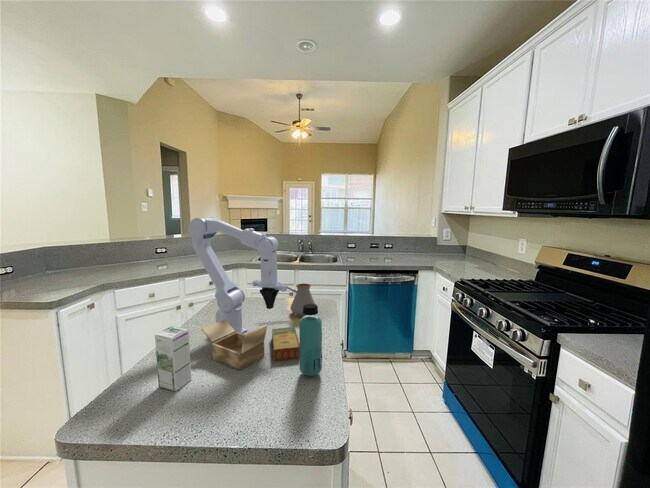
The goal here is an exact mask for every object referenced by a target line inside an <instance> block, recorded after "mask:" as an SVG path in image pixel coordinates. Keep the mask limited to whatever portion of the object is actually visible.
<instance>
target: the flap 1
mask: <svg viewBox="0 0 650 488" xmlns="http://www.w3.org/2000/svg"><path fill="white" fill-rule="evenodd" d="M201 331H202V332H203V334H204V335H205V336H206V337H207V339H208V340H209V341H210V343H214V342H216V341H219V340H221V339H223V338H225V337H227V335H229V334H231V333H233V332H235V330H234V329H233V328H232V327H231V326H230V324H229V323H228V322H227V321H226V320H225V319H224V320H222V321H220V322H217V323H216V322H214V323H212V324H210V325H208V326H205V327H202V328H201Z"/></svg>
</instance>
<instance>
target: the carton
mask: <svg viewBox="0 0 650 488" xmlns="http://www.w3.org/2000/svg"><path fill="white" fill-rule="evenodd" d="M271 332H272V334H271V335H272V336H271V339H272V340H271V341H272V350H273V351H272V354H273V362H279V361H281V362H283V361H291V360H299V344H300V340H299V337H298V334H297V330H296V327H295V326H291V327H279V328H272V331H271Z"/></svg>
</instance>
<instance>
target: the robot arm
mask: <svg viewBox="0 0 650 488" xmlns="http://www.w3.org/2000/svg"><path fill="white" fill-rule="evenodd" d="M187 231H188V233H189V234H190V237H191V242H192V243H191V244H192V248H193V250H194V251H195V253H196V254H197V257H198V258H199V260H200V262H201V264H202V265H203V267H204V269H205V271H206V273H207V274H208V277H209V278H210V280H211V281H212V283H213V285H214V286H215V288H216V290H215V294H214V297H215V298H216V303H217V307H218V309H217V310H216V312H215V323H217V322H220V321H222V320H224V319H225V320H226V321H227V322H228V323H229V324H230V326H231V327H232V328H233V329H234V330H235V332H233V333H236V332H238V333H242V334H244V333H245V332H246V331H247V332H248V329H249V328H246V327H244V326H243V302H244V301H245V298H246V294H245V293H244V291H243V290H242V289H241V288H240V287H239V286H238V284H236V283H235V282H232V280H230V277H229V276H228V274H227V272H226V271H225V269H224V267H223V266H222V264H221V261H220V260H219V257H217V254H216V252H214V250H213V248H212V246H211V242H212V240H213V238H214V237H215V236H216V235H217V234H218V233H222V234H225V235H227V236H230V237H234V238H236V239H239V242H240V243H241V244H242V245H245V246H247V247H249V248H251V249H255V250H257V251H258V253H259V255H260V256H259V257H260V259H259V260H260V280H258V279H256V280H252V287H258V288H261V289H259V294H261V297H263V300H264V304H265V308H266V309H267V310H272V309H273V308H274V306H275V303H276V302H275V301H276V299H277V298H276V297H277V296H278V294H279V292H280V291H281V292H287V291H288V289H287V287H288V285H287V284H284V283H281V282H278V254H277V250H279V246H280V244H279V240H278V239H277V238H276V237H274V236H273V235H269V236H267V233H260V232H258V231H255V228H252V227H251V228H250V227H249V228H245V229H241V228H239V227H237V226H234V225H233V224H230V223H227V222H225V221H223V220H222V219H219V218H216V217H213V216H211V217H194V218H192V219H191V221H190V222H189V226H188V227H187ZM233 333H231V334H233ZM231 334H229V335H231ZM229 335H227V336H229ZM227 336H226V337H227Z"/></svg>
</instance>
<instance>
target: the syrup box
mask: <svg viewBox="0 0 650 488" xmlns="http://www.w3.org/2000/svg"><path fill="white" fill-rule="evenodd" d="M189 331H190V330H189V329H188V328H182V327H178V326H173V325H172V326H170V327H167V328H165V329H162V330H159V332H157V333H155V334H154V343H155V358H156V368H157V381H158V382H157V383H158V388H162V389H165V390H168V391H173V392H177V391H178V390H180V389H181V388H182V387H184V386H185V385H187V384H188V383H189V382H191V381H192V369H191V352H190V332H189Z"/></svg>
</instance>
